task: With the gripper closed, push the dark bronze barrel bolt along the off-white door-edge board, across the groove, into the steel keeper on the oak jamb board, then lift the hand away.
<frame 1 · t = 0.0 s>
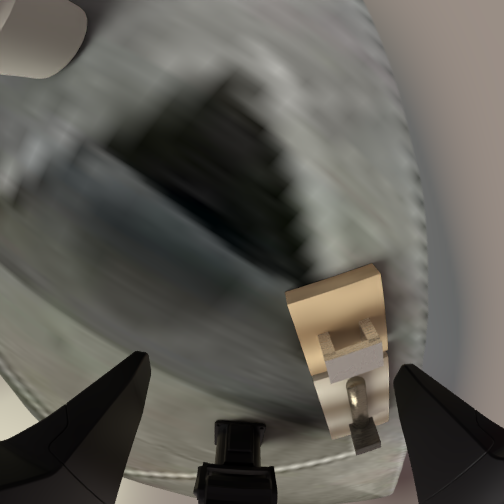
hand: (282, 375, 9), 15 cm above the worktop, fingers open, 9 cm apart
bolt: (362, 418, 25), point 5 cm above the worktop, slide at 0.0 cm
can: (60, 43, 16), on the worktop
door jamb: (349, 368, 28), on the worktop
keeper: (350, 350, 22), on the door jamb, point 4 cm above the worktop
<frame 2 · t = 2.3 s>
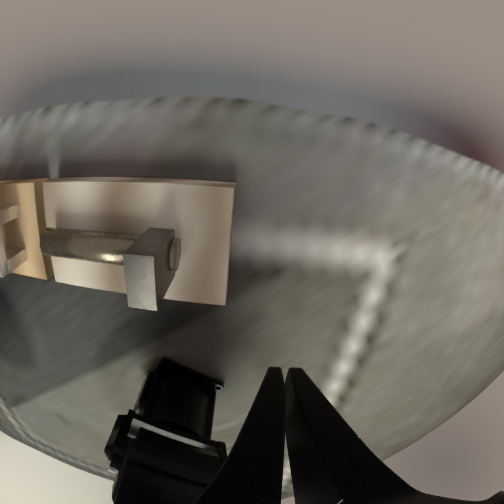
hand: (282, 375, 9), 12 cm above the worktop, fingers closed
bolt: (93, 256, 15), point 5 cm above the worktop, slide at 0.0 cm
door jamb: (79, 227, 19), on the worktop
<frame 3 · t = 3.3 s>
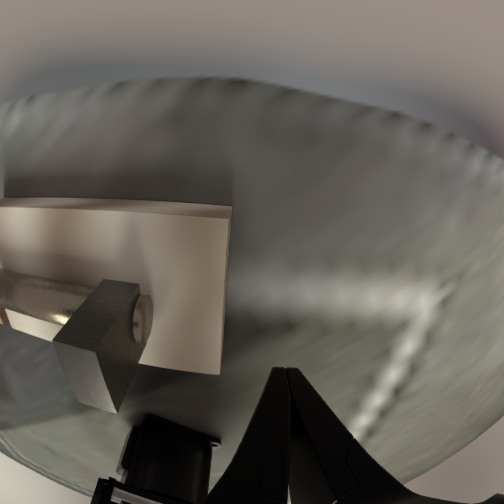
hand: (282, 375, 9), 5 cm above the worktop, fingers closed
bolt: (34, 317, 9), point 5 cm above the worktop, slide at 0.0 cm
door jamb: (32, 262, 13), on the worktop
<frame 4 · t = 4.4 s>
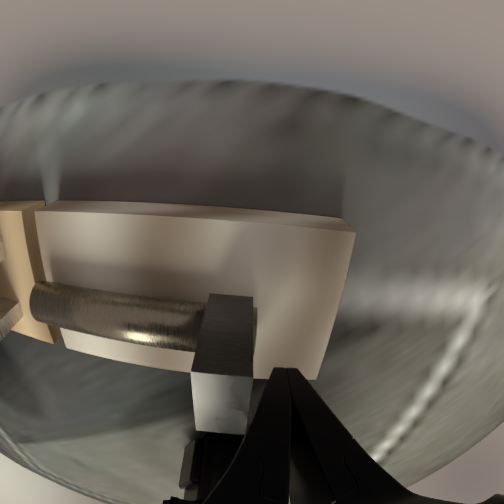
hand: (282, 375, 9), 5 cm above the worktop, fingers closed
bolt: (119, 340, 9), point 5 cm above the worktop, slide at 0.6 cm, touching gripper
door jamb: (95, 274, 14), on the worktop
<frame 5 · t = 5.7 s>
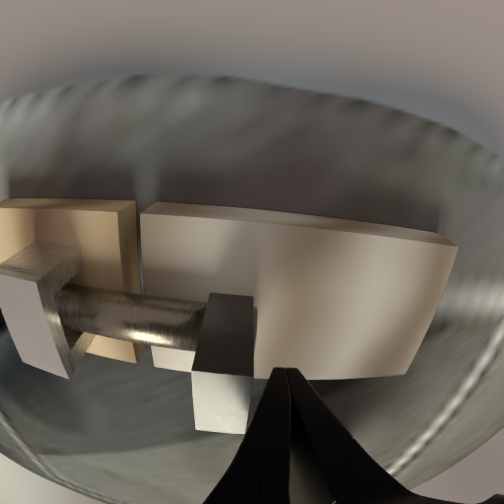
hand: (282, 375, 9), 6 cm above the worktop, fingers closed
bolt: (119, 338, 9), point 5 cm above the worktop, slide at 6.2 cm, touching gripper
door jamb: (197, 285, 14), on the worktop
keeper: (46, 307, 10), on the door jamb, point 4 cm above the worktop
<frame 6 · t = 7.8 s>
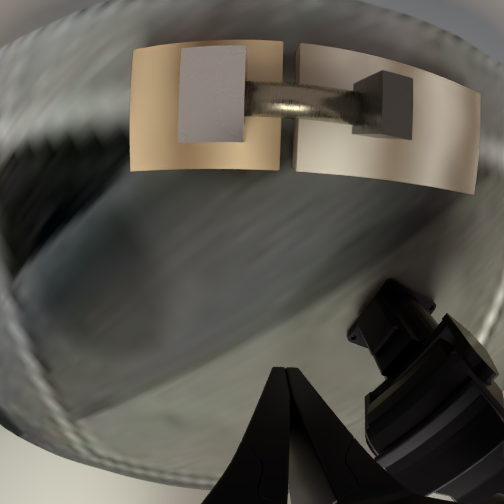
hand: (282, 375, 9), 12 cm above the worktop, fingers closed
bolt: (300, 97, 12), point 5 cm above the worktop, slide at 6.3 cm
door jamb: (325, 110, 16), on the worktop
keeper: (215, 97, 13), on the door jamb, point 4 cm above the worktop
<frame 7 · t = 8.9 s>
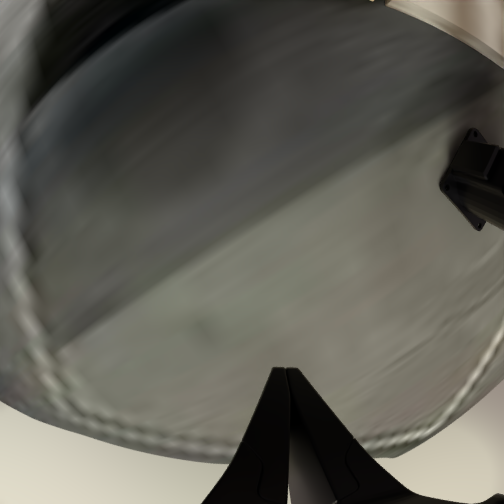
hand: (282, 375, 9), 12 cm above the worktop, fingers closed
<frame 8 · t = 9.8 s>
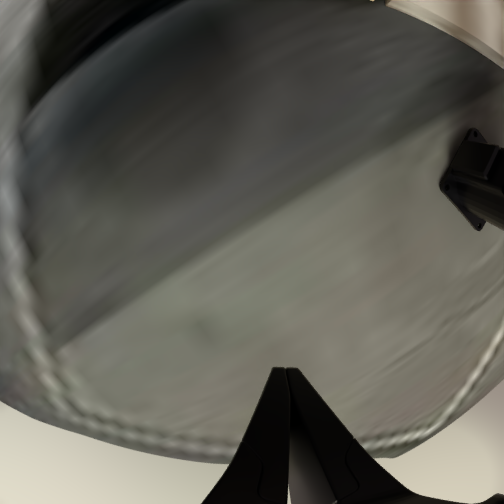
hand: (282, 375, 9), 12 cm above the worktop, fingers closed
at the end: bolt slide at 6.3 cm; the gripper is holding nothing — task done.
